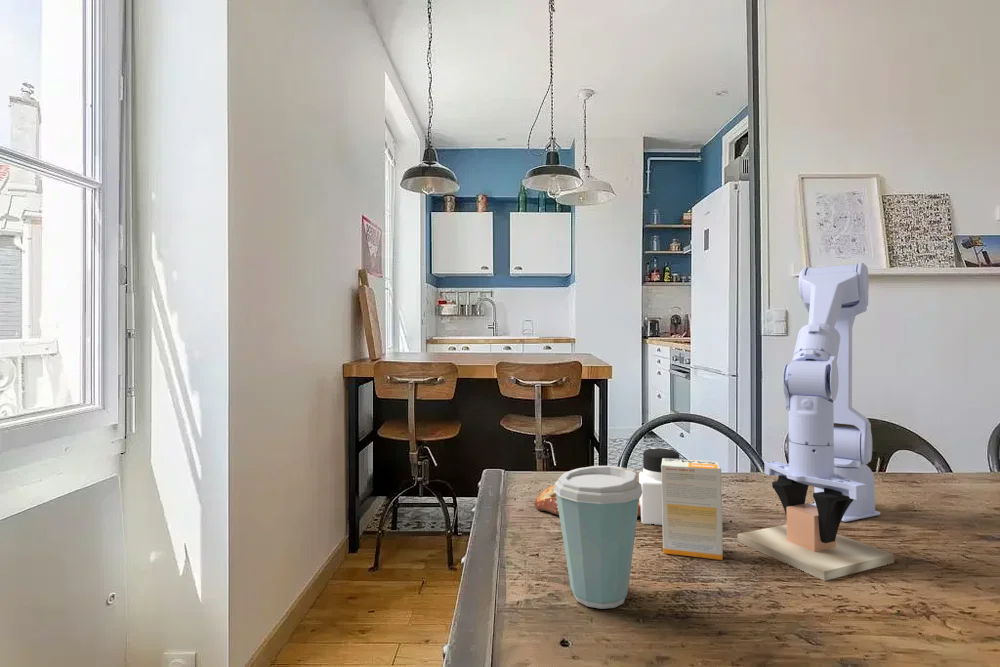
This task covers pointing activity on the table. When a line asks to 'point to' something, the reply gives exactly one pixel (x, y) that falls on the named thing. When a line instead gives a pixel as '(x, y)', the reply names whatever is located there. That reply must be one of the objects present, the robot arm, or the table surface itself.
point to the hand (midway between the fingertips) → (811, 535)
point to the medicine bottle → (653, 484)
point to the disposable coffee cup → (598, 531)
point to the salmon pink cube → (805, 527)
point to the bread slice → (555, 501)
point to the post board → (817, 553)
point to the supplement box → (692, 508)
